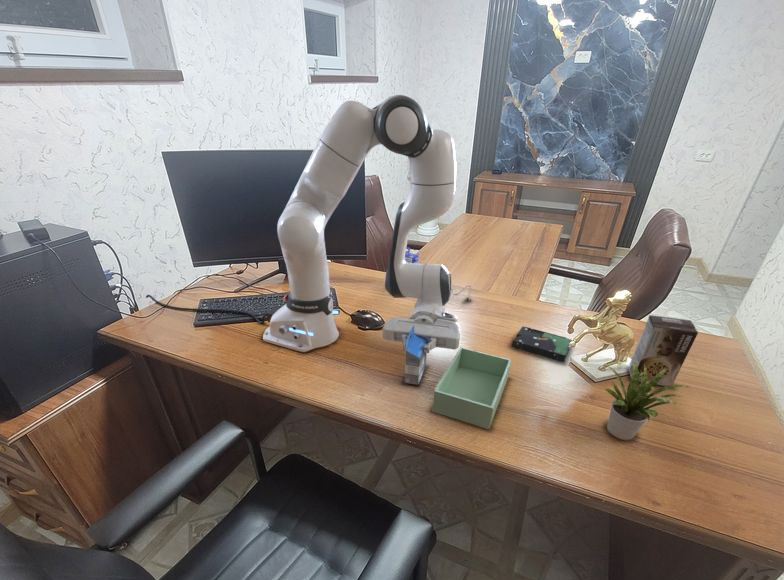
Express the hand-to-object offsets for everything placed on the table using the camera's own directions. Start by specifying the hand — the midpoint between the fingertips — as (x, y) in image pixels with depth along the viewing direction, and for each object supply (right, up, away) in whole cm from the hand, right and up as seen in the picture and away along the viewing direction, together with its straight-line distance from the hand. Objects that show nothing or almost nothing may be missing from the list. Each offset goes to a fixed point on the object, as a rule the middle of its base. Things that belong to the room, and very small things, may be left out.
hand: (416, 349), depth 96 cm
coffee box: (+61, -7, +5) cm, 62 cm away
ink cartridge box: (-1, +25, +54) cm, 60 cm away
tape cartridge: (0, -7, +6) cm, 9 cm away
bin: (+14, -11, -1) cm, 18 cm away
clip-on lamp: (+15, +19, +46) cm, 52 cm away
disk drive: (+38, 0, +17) cm, 41 cm away
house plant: (+45, -19, -12) cm, 50 cm away
